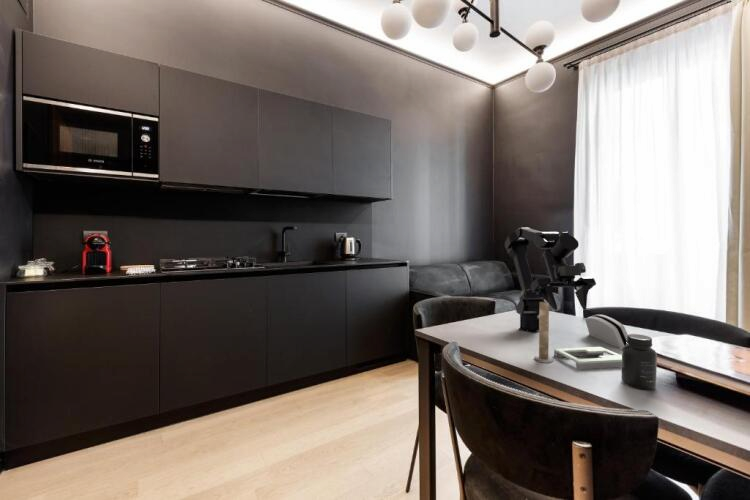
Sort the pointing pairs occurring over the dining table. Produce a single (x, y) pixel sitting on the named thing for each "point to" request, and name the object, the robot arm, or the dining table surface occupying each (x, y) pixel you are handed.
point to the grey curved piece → (607, 330)
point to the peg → (543, 334)
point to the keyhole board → (592, 363)
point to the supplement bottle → (639, 363)
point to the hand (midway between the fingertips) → (570, 309)
